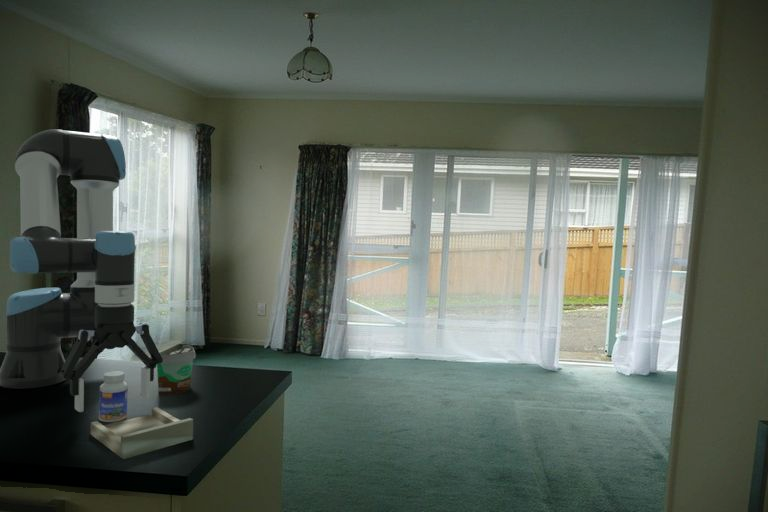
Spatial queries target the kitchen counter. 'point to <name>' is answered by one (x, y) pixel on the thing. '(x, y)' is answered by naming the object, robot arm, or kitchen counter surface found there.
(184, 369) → the food container
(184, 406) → the kitchen counter surface
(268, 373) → the kitchen counter surface
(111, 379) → the pill bottle
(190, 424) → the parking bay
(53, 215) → the robot arm
